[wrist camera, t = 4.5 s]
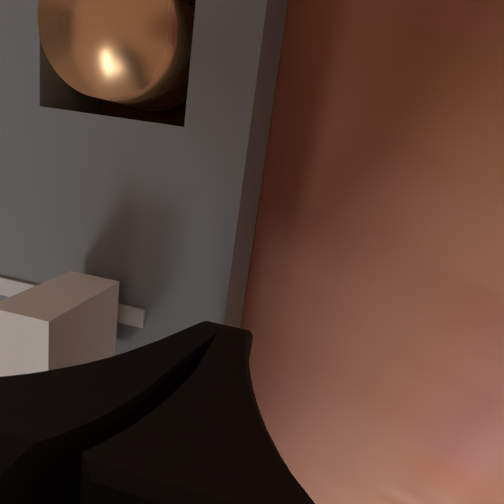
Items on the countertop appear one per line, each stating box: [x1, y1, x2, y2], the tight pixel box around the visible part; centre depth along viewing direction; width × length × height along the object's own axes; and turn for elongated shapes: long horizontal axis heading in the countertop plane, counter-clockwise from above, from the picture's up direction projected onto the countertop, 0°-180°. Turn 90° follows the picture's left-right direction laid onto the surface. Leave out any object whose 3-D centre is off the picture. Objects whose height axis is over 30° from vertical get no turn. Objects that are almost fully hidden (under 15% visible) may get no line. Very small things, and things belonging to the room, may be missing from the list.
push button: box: [37, 0, 195, 111], centre depth 11 cm, size 4×4×3 cm
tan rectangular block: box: [0, 271, 119, 377], centre depth 11 cm, size 2×2×3 cm
